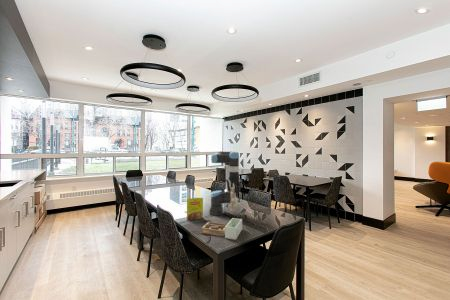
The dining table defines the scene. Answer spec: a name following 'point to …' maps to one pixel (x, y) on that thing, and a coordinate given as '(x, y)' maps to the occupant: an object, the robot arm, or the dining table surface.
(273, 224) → the dining table surface
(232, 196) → the board
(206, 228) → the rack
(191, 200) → the food package
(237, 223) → the tote
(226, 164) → the robot arm
